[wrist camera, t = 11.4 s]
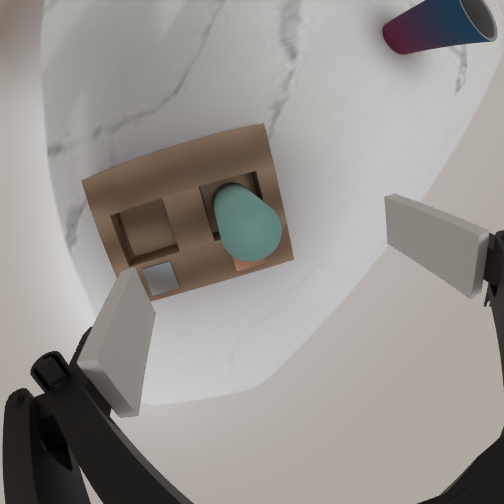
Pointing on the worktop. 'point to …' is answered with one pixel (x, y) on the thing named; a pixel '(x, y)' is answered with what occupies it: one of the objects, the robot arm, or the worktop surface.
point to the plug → (245, 222)
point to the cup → (440, 25)
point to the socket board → (183, 210)
